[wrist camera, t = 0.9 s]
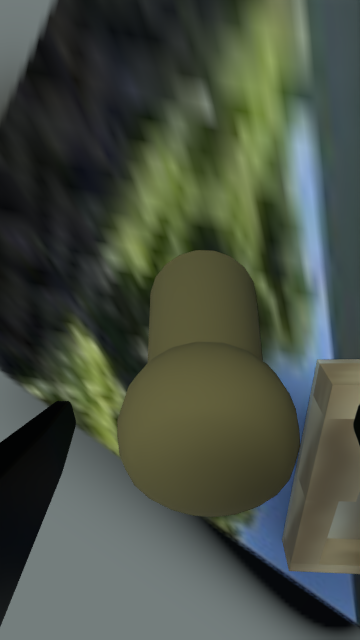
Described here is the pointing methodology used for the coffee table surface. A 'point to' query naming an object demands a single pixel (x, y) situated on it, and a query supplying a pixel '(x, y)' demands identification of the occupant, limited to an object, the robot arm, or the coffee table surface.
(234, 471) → the cork
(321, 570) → the keyhole plate
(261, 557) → the coffee table surface
